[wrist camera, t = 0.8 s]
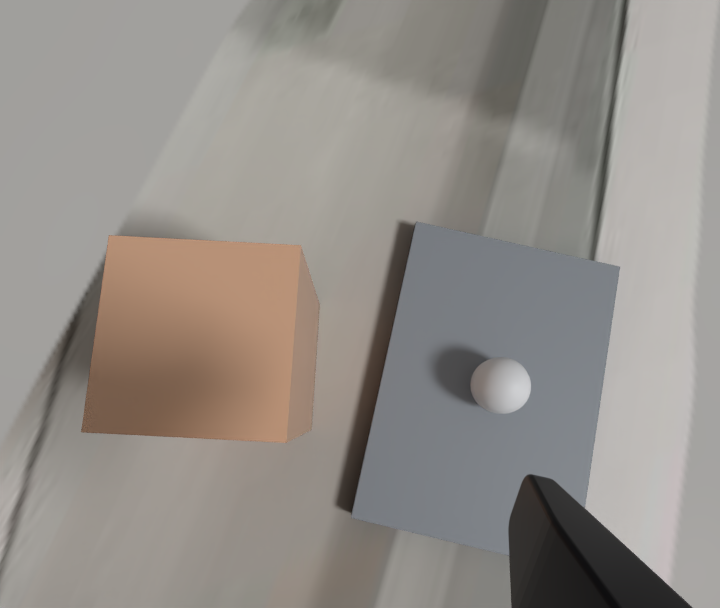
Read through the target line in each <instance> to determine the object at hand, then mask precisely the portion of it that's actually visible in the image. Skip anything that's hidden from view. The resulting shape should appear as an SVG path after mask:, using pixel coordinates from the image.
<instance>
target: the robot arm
mask: <svg viewBox="0 0 720 608" xmlns="http://www.w3.org/2000/svg"><path fill="white" fill-rule="evenodd" d="M508 537H509V560H510V582H511V605H512V608H692V607H691V606H690V605H689V604H688V603H687V602H686V601H685V600H684V599H683V598H682V597H680V596H679V595H678V594H677V593H676V592H675V591H674V590H673V589H672V588H671V587H670V586H669V585H667V584H666V583H665V582H664V581H663V580H662V579H661V578H660V577H659V576H658V575H657V574H656V573H654V572H653V571H652V570H651V569H650V568H649V567H648V566H647V565H646V564H645V563H644V562H642V561H641V560H640V559H639V558H638V557H637V556H636V555H635V554H634V553H633V552H632V551H631V550H629V549H628V548H627V547H626V546H625V545H624V544H623V543H622V542H621V541H620V540H619V539H617V538H616V537H615V536H614V535H613V534H612V533H611V532H610V531H609V530H608V529H607V528H606V527H604V526H603V525H602V524H601V523H600V522H599V521H598V520H597V519H596V518H595V517H594V516H592V515H591V514H590V513H589V512H588V511H587V510H586V509H585V508H584V507H583V506H582V505H581V504H579V503H578V502H577V501H576V500H575V499H574V498H573V497H572V496H571V495H570V494H569V493H567V492H566V491H565V490H564V489H563V488H562V487H561V486H560V485H559V484H558V483H557V482H556V481H554V480H553V479H550V478H547V477H542V476H538V475H533V474H528V475H526V476H525V477H524V479H523V481H522V483H521V486H520V489H519V492H518V495H517V497H516V500H515V503H514V506H513V509H512V512H511V515H510V519H509V526H508Z"/></svg>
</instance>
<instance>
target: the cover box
mask: <svg viewBox="0 0 720 608" xmlns="http://www.w3.org/2000/svg"><path fill="white" fill-rule="evenodd" d="M319 309H320V303H319V300H318V297H317V294H316V291H315V288H314V285H313V282H312V278H311V275H310V272H309V269H308V266H307V263H306V260H305V257H304V254H303V250H302V247H301V245H284V244H265V243H246V242H227V241H208V240H189V239H170V238H150V237H131V236H112V235H109V238H108V245H107V252H106V259H105V266H104V274H103V281H102V288H101V295H100V302H99V309H98V316H97V323H96V331H95V338H94V345H93V352H92V359H91V366H90V373H89V380H88V388H87V395H86V402H85V409H84V416H83V423H82V430H81V432H87V433H107V434H126V435H145V436H165V437H184V438H204V439H223V440H242V441H262V442H281V443H287V442H289V441H291V440H293V439H295V438H297V437H299V436H301V435H303V434H304V433H306V432H308V431H310V430H312V417H313V401H314V386H315V371H316V355H317V340H318V325H319Z"/></svg>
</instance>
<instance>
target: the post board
mask: <svg viewBox="0 0 720 608" xmlns="http://www.w3.org/2000/svg"><path fill="white" fill-rule="evenodd" d="M619 270H620V267H619V266H614V265H610V264H605V263H601V262H596V261H592V260H587V259H583V258H578V257H574V256H569V255H565V254H560V253H556V252H551V251H547V250H542V249H538V248H533V247H529V246H524V245H520V244H515V243H511V242H506V241H502V240H497V239H493V238H488V237H484V236H479V235H475V234H470V233H466V232H461V231H457V230H452V229H448V228H443V227H439V226H434V225H430V224H425V223H421V222H416V224H415V227H414V231H413V236H412V240H411V245H410V250H409V254H408V259H407V263H406V268H405V272H404V277H403V281H402V286H401V290H400V295H399V299H398V304H397V308H396V313H395V318H394V322H393V327H392V331H391V336H390V340H389V345H388V349H387V354H386V358H385V363H384V367H383V372H382V377H381V381H380V386H379V390H378V395H377V399H376V404H375V408H374V413H373V417H372V422H371V426H370V431H369V436H368V440H367V445H366V449H365V454H364V458H363V463H362V467H361V472H360V476H359V481H358V485H357V490H356V495H355V499H354V504H353V508H352V513H351V518H354V519H358V520H362V521H366V522H371V523H375V524H379V525H383V526H387V527H392V528H396V529H400V530H404V531H408V532H412V533H417V534H421V535H425V536H429V537H433V538H437V539H442V540H446V541H450V542H454V543H458V544H463V545H467V546H471V547H475V548H479V549H483V550H488V551H492V552H496V553H500V554H504V555H508V556H509V537H508V526H509V519H510V515H511V512H512V509H513V506H514V503H515V500H516V497H517V495H518V492H519V489H520V486H521V483H522V481H523V479H524V477H525V476H526V475H528V474H533V475H538V476H542V477H547V478H550V479H553V480H554V481H556V482H557V483H558V484H559V485H560V486H561V487H562V488H563V489H564V490H565V491H566V492H567V493H569V494H570V495H571V496H572V497H573V498H574V499H575V500H576V501H577V502H578V503H579V504H581V505H582V506H583V507H584V508H585V504H586V497H587V490H588V483H589V476H590V469H591V462H592V455H593V449H594V442H595V435H596V428H597V421H598V414H599V407H600V401H601V394H602V387H603V380H604V373H605V366H606V359H607V353H608V346H609V339H610V332H611V325H612V318H613V311H614V304H615V298H616V291H617V284H618V277H619Z"/></svg>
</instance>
